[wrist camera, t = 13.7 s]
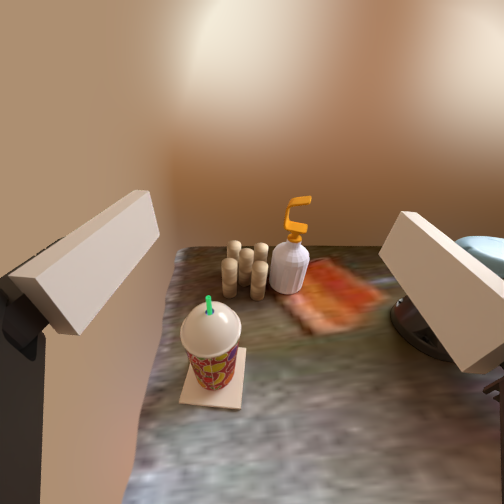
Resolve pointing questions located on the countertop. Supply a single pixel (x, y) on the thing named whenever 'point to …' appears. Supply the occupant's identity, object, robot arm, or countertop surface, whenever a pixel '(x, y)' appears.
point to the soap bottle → (290, 255)
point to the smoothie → (212, 343)
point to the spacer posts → (245, 269)
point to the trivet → (219, 398)
